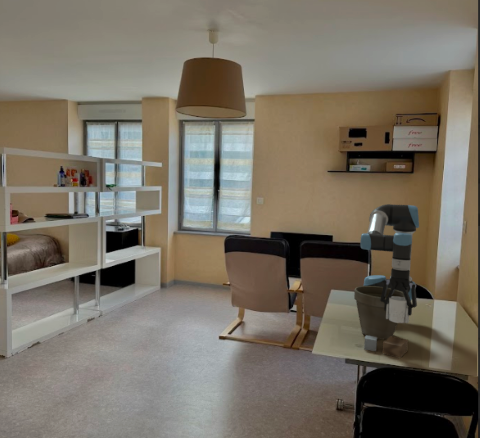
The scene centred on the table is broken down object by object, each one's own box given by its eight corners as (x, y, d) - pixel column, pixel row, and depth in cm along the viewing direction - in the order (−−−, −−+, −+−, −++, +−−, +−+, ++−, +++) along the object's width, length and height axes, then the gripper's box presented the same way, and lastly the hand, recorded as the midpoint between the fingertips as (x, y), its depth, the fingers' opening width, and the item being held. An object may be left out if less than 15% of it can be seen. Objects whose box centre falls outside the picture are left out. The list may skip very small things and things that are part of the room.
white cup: (394, 324, 186) (396, 301, 186) (384, 318, 194) (385, 296, 193) (410, 323, 188) (412, 300, 188) (399, 317, 196) (400, 296, 195)
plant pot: (415, 339, 211) (418, 295, 209) (379, 346, 199) (382, 299, 197) (376, 324, 233) (378, 284, 231) (341, 330, 220) (343, 287, 219)
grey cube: (364, 349, 194) (364, 338, 194) (365, 346, 199) (365, 335, 198) (375, 351, 192) (376, 340, 192) (376, 347, 197) (377, 337, 197)
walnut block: (382, 353, 190) (383, 342, 189) (390, 346, 199) (390, 336, 198) (400, 357, 185) (400, 346, 185) (407, 350, 194) (407, 339, 194)
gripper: (374, 266, 193) (371, 317, 194) (423, 273, 181) (419, 327, 182) (380, 264, 199) (376, 313, 200) (427, 271, 187) (423, 323, 188)
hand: (397, 320), depth 191 cm, fingers closed on white cup, 8 cm apart
